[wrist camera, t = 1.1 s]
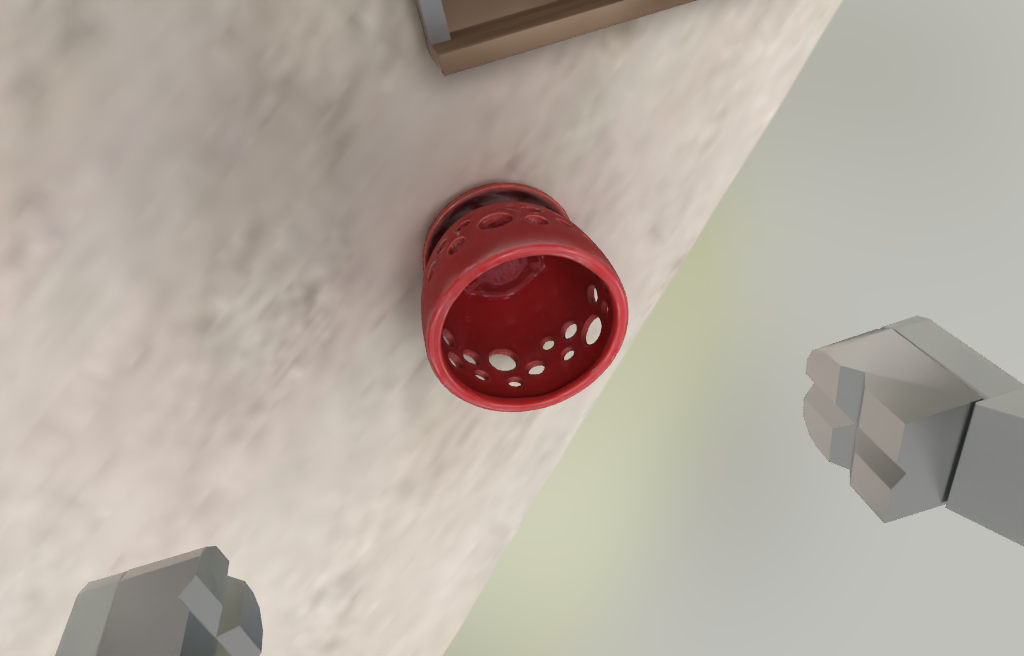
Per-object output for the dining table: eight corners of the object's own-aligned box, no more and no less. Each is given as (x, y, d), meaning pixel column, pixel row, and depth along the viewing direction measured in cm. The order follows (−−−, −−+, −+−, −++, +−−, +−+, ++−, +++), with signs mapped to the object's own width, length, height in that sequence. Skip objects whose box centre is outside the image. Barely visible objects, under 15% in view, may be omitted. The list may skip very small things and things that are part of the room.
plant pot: (408, 167, 45) (431, 242, 35) (587, 172, 48) (652, 242, 39) (404, 326, 52) (423, 425, 42) (561, 320, 55) (611, 411, 46)
